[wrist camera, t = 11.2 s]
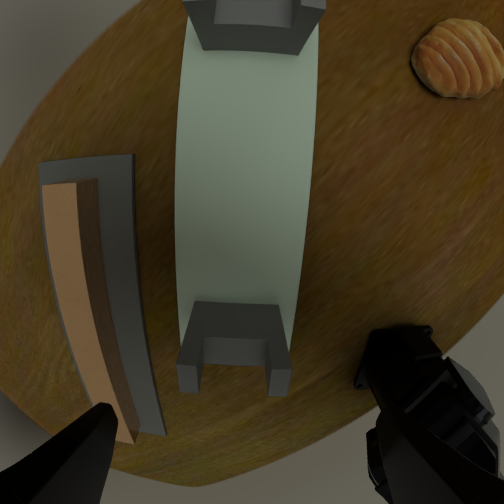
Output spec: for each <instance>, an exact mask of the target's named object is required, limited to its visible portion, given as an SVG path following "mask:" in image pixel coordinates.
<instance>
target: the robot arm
mask: <svg viewBox="0 0 504 504" xmlns="http://www.w3.org/2000/svg"><path fill="white" fill-rule="evenodd" d="M432 333H433V329H432V328H431V327H430V326H422V327H420V326H415V327H402V328H396V329H381V330H374V331H373V332H372V333H371V334H370V337H369V340H368V343H367V346H366V349H365V352H364V355H363V358H362V361H361V364H360V367H359V370H358V373H357V375H356V378H355V381H354V384H353V385H354V388H355V389H357V390H359V389H367V388H371V391H372V393H373V395H374V397H375V399H376V401H377V403H378V406H379V408H380V410H381V412H380V414H379V416H378V418H377V421H376V427H375V428H373V429H371V430H369V431H368V432H367V433H366V439H367V456H368V457H367V459H368V473H369V477H370V479H371V480H372V482H373V484H374V485H375V490H376V491H377V492H378V493H379V494H380V495H381V496H382V497H383V498H384V499H385V500H386V501H387V502H388V504H504V477H503V475H502V474H501V472H500V432H499V430H498V428H497V427H496V426H495V424H494V423H493V422H492V420H491V418H493V416H494V415H495V412H494V410H493V407H492V405H491V403H490V400H489V398H488V396H487V394H486V392H485V390H484V388H483V387H482V386H481V384H480V383H479V382H478V381H477V380H476V379H475V378H474V376H473V375H472V374H471V373H470V372H469V371H468V370H466V369H465V368H463V367H462V366H461V365H459V364H458V363H456V362H455V361H454V360H452V359H451V358H450V357H447V358H446V359H445V360H443V359H442V355H443V354H442V352H441V350H440V349H439V348H438V347H437V346H436V344H435V343H434V342H433V341H432V340H431V335H432ZM376 335H377V336H376ZM375 336H376V337H375ZM117 429H118V418H117V415H116V413H115V411H114V409H113V406H112V405H111V404H109V403H104V402H99V403H98V404H96V405H95V406H94V407H92V408H91V409H90V410H88V411H87V412H86V413H84V414H83V415H82V416H80V417H79V418H78V419H76V420H75V421H74V422H72V423H71V424H70V425H68V426H67V427H66V428H64V429H63V430H62V431H60V432H59V433H58V434H56V435H55V436H54V437H52V438H51V439H49V440H48V441H47V442H45V443H44V444H43V445H41V446H40V447H39V448H37V449H36V450H34V451H33V452H32V454H31V453H30V454H29V455H27V456H26V457H24V458H23V459H22V460H20V461H19V462H17V463H15V464H14V465H12V466H10V467H9V468H7V469H5V470H3V471H1V472H0V504H99V503H100V499H101V496H102V492H103V488H104V485H105V481H106V478H107V474H108V471H109V468H110V464H111V461H112V456H113V450H114V445H115V439H116V434H117Z"/></svg>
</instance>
